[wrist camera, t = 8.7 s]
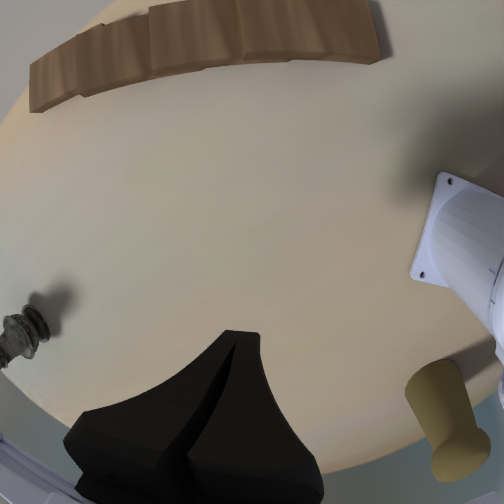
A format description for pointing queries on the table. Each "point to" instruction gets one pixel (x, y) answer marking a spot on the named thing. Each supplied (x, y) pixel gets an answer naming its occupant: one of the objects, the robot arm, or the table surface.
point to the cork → (447, 420)
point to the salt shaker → (22, 335)
